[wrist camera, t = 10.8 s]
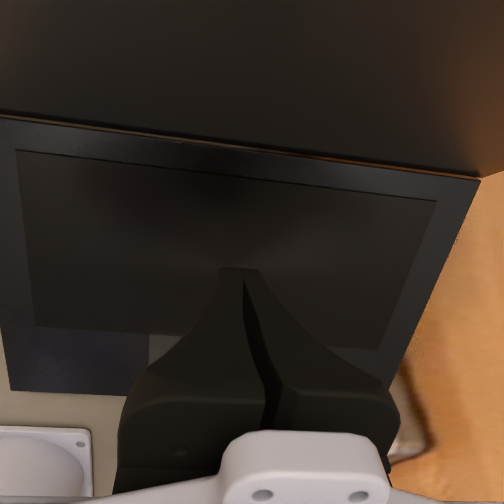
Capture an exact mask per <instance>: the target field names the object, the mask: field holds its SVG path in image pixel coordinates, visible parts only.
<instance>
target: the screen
mask: <svg viewBox="0 0 504 504" xmlns="http://www.w3.org/2000/svg"><path fill="white" fill-rule="evenodd" d="M0 114H5V115H13V116H20V117H28V118H35V119H43V120H50V121H58V122H65V123H73V124H80V125H88V126H95V127H103V128H110V129H118V130H125V131H133V132H140V133H148V134H155V135H163V136H170V137H178V138H185V139H193V140H200V141H208V142H215V143H223V144H230V145H238V146H245V147H253V148H260V149H268V150H276V151H283V152H291V153H298V154H306V155H313V156H321V157H328V158H336V159H343V160H351V161H358V162H366V163H373V164H381V165H388V166H396V167H403V168H411V169H418V170H426V171H433V172H441V173H448V174H456V175H463V176H471V177H478V178H483V177H486V176H489V175H492V174H495V173H498V172H501V171H504V0H0Z"/></svg>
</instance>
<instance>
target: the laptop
mask: <svg viewBox="0 0 504 504" xmlns="http://www.w3.org/2000/svg"><path fill="white" fill-rule="evenodd" d="M480 183H481V180H479V179H478V178H476V177H471V176H463V175H456V174H448V173H441V172H433V171H426V170H418V169H411V168H403V167H396V166H388V165H381V164H373V163H366V162H358V161H351V160H343V159H336V158H328V157H321V156H313V155H306V154H298V153H291V152H283V151H276V150H268V149H260V148H253V147H245V146H238V145H230V144H223V143H215V142H208V141H200V140H193V139H185V138H178V137H170V136H163V135H155V134H148V133H140V132H133V131H125V130H118V129H110V128H103V127H95V126H88V125H80V124H73V123H65V122H58V121H50V120H43V119H35V118H28V117H20V116H13V115H5V114H0V328H1V334H2V340H3V346H4V352H5V358H6V365H7V371H8V377H9V383H10V389H11V391H29V392H50V393H71V394H92V395H113V396H128V395H129V393H130V391H131V389H132V387H133V385H134V383H135V381H136V380H137V378H138V376H139V374H140V373H141V371H142V370H143V369H145V368H146V367H147V366H149V365H150V364H152V363H153V362H155V361H156V360H157V359H159V358H160V357H161V356H163V355H164V354H165V353H166V352H167V351H168V350H169V349H170V348H172V347H173V346H174V345H175V344H176V343H177V342H178V341H179V340H180V339H181V338H182V337H183V336H184V334H185V333H186V332H187V331H188V330H189V329H190V327H191V326H192V325H193V324H194V322H195V321H196V320H197V318H198V317H199V315H200V314H201V312H202V310H203V309H204V307H205V305H206V304H207V302H208V300H209V298H210V296H211V294H212V292H213V290H214V287H215V285H216V282H217V276H218V269H219V268H220V267H222V266H226V267H238V268H249V269H258V270H259V272H260V273H261V274H262V276H263V277H264V279H265V280H266V282H267V283H268V285H269V286H270V288H271V289H272V291H273V292H274V294H275V295H276V296H277V298H278V299H279V300H280V302H281V303H282V304H283V305H284V307H285V308H286V309H287V310H288V312H289V313H290V314H291V315H292V316H293V317H294V318H295V319H296V321H297V322H298V323H299V324H300V325H301V326H302V327H304V328H305V329H306V330H307V331H308V332H309V333H310V334H311V335H312V336H313V337H314V338H316V339H317V340H318V341H319V342H320V343H322V344H323V345H324V346H326V347H327V348H328V349H330V350H331V351H332V352H334V353H335V354H337V355H338V356H340V357H341V358H342V359H344V360H346V361H347V362H349V363H351V364H352V365H354V366H355V367H357V368H359V369H361V370H363V371H365V372H366V373H368V374H370V375H372V376H374V377H376V378H378V379H380V380H382V381H384V383H385V385H386V387H387V388H388V390H389V388H390V386H391V383H392V381H393V379H394V377H395V374H396V372H397V370H398V368H399V365H400V363H401V361H402V359H403V356H404V354H405V352H406V350H407V347H408V345H409V343H410V341H411V338H412V336H413V334H414V332H415V329H416V327H417V325H418V322H419V320H420V318H421V316H422V313H423V311H424V309H425V307H426V304H427V302H428V300H429V298H430V295H431V293H432V291H433V289H434V286H435V284H436V282H437V280H438V277H439V275H440V273H441V271H442V268H443V266H444V264H445V262H446V259H447V257H448V255H449V253H450V250H451V248H452V246H453V244H454V241H455V239H456V237H457V235H458V232H459V230H460V228H461V226H462V223H463V221H464V219H465V217H466V214H467V212H468V210H469V207H470V205H471V203H472V201H473V198H474V196H475V194H476V192H477V189H478V187H479V185H480Z"/></svg>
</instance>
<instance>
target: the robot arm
mask: <svg viewBox="0 0 504 504" xmlns="http://www.w3.org/2000/svg"><path fill="white" fill-rule="evenodd" d="M400 424H401V421H400V414H399V411H398V409H397V407H396V405H395V402H394V400H393V398H392V396H391V394H390V392H389V390H388V388H387V387H386V385H385V383H384V381H382V380H380V379H378V378H376V377H374V376H372V375H370V374H368V373H366V372H365V371H363V370H361V369H359V368H357V367H355V366H354V365H352V364H351V363H349V362H347V361H346V360H344V359H342V358H341V357H340V356H338V355H337V354H335V353H334V352H332V351H331V350H330V349H328V348H327V347H326V346H324V345H323V344H322V343H320V342H319V341H318V340H317V339H316V338H314V337H313V336H312V335H311V334H310V333H309V332H308V331H307V330H306V329H305V328H304V327H302V326H301V325H300V324H299V323H298V322H297V321H296V319H295V318H294V317H293V316H292V315H291V314H290V313H289V312H288V310H287V309H286V308H285V307H284V305H283V304H282V303H281V302H280V300H279V299H278V298H277V296H276V295H275V294H274V292H273V291H272V289H271V288H270V286H269V285H268V283H267V282H266V280H265V279H264V277H263V276H262V274H261V273H260V272H259V270H258V269H249V268H238V267H226V266H222V267H220V268H219V269H218V276H217V282H216V285H215V287H214V290H213V292H212V294H211V296H210V298H209V300H208V302H207V304H206V305H205V307H204V309H203V310H202V312H201V314H200V315H199V317H198V318H197V320H196V321H195V322H194V324H193V325H192V326H191V327H190V329H189V330H188V331H187V332H186V333H185V334H184V336H183V337H182V338H181V339H180V340H179V341H178V342H177V343H176V344H175V345H174V346H173V347H172V348H170V349H169V350H168V351H167V352H166V353H165V354H164V355H163V356H161V357H160V358H159V359H157V360H156V361H155V362H153V363H152V364H150V365H149V366H147V367H146V368H145V369H143V370H142V371H141V373H140V374H139V376H138V378H137V380H136V381H135V383H134V385H133V387H132V389H131V391H130V393H129V395H128V397H127V399H126V402H125V404H124V407H123V410H122V413H121V418H120V423H119V429H118V447H117V472H116V477H115V482H114V487H113V492H112V495H109V496H104V497H93V479H92V454H91V434H90V432H89V431H88V430H86V429H80V428H53V427H26V426H0V504H504V502H461V501H439V500H435V499H432V498H428V497H425V496H421V495H418V494H414V493H410V492H407V491H403V490H400V489H396V488H393V487H392V484H391V481H390V478H389V476H388V474H390V472H391V466H390V463H389V460H388V458H387V454H388V452H389V450H390V448H391V445H392V443H393V441H394V439H395V437H396V435H397V433H398V431H399V427H400Z"/></svg>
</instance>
